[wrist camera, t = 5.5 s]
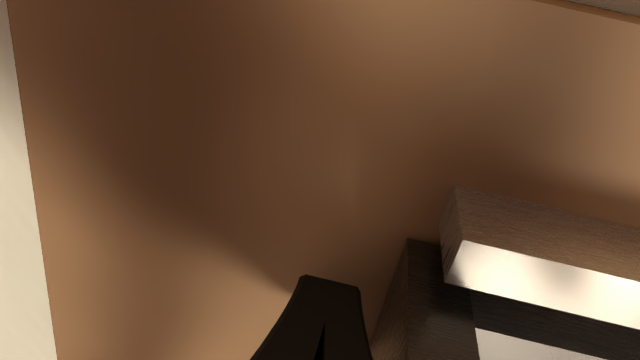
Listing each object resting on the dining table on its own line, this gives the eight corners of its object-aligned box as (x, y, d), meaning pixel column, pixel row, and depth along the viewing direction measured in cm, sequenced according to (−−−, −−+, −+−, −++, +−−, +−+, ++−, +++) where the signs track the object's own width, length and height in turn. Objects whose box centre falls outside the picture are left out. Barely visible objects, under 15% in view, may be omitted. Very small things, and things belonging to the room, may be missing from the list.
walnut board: (76, 370, 17) (61, 391, 16) (20, -125, 9) (-12, -124, 8) (623, 506, 16) (632, 533, 15) (1037, 108, 9) (1092, 128, 8)
